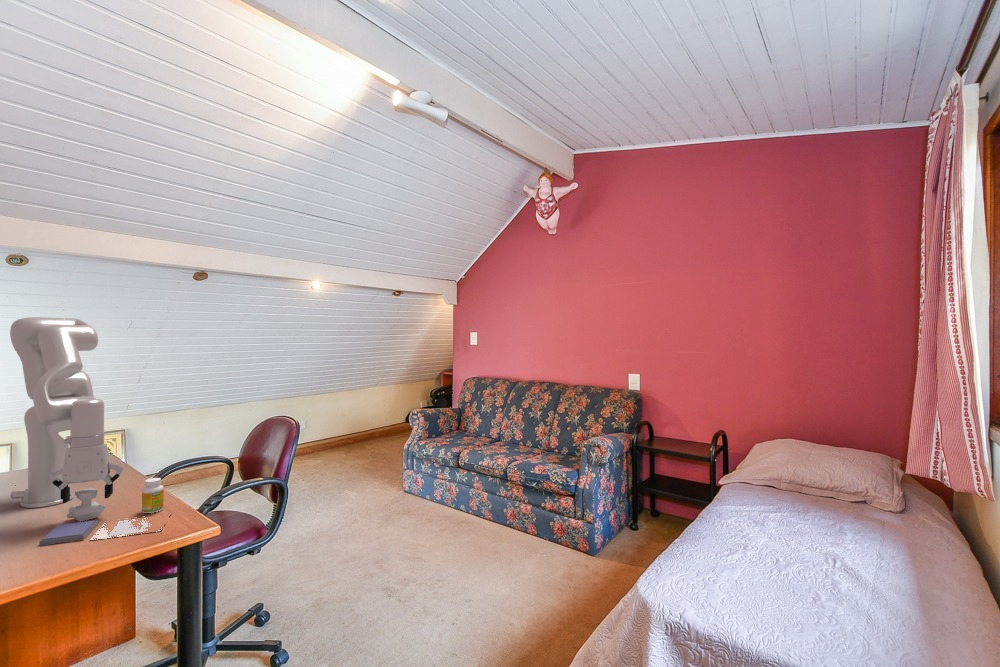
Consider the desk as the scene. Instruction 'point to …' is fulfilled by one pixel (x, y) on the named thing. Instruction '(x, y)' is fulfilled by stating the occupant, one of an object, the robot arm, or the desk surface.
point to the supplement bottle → (152, 496)
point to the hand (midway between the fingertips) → (87, 499)
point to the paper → (121, 529)
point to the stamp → (86, 506)
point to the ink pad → (69, 532)
